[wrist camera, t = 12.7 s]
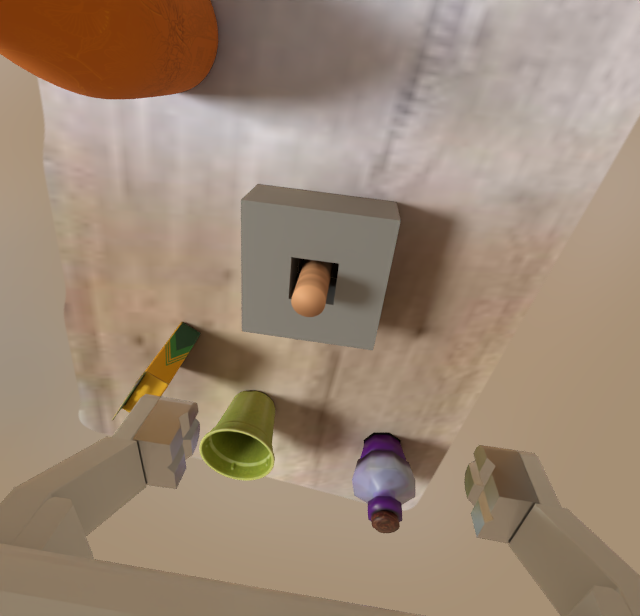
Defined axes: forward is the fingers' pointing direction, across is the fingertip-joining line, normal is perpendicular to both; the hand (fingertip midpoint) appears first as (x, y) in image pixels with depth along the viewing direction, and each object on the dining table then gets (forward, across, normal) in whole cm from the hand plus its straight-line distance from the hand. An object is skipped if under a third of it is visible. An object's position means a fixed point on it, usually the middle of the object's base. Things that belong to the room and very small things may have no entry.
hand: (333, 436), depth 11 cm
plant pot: (+31, +10, +32) cm, 46 cm away
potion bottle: (+31, -9, +36) cm, 49 cm away
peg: (+31, +3, +8) cm, 32 cm away
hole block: (+31, +3, +8) cm, 32 cm away
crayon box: (+31, +20, +23) cm, 44 cm away
